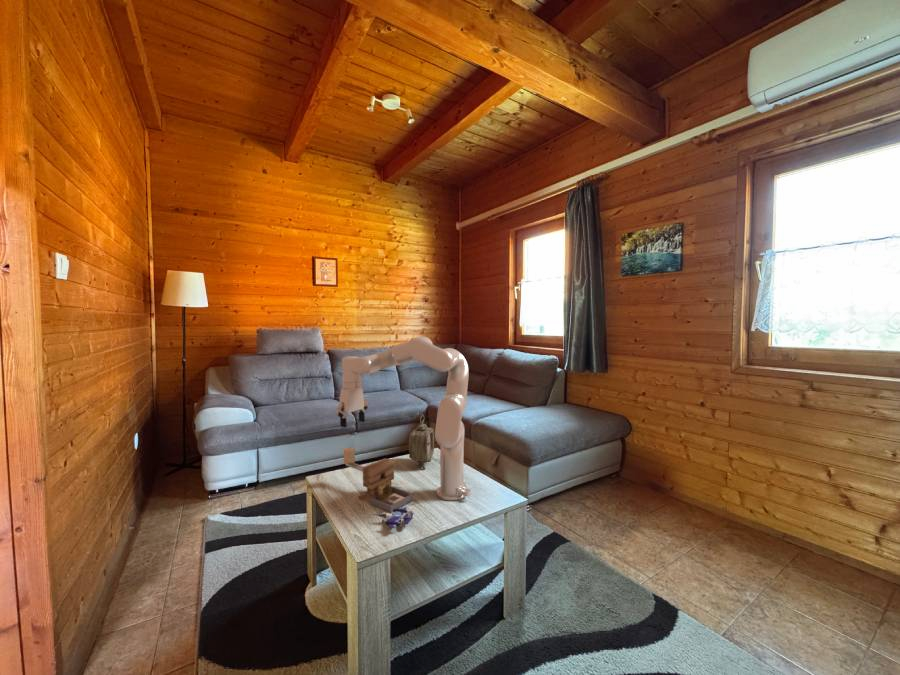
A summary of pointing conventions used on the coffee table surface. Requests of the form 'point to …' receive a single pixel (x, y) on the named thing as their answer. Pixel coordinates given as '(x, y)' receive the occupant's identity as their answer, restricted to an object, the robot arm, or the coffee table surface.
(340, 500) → the coffee table surface
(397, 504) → the tray
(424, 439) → the old lantern
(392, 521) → the toy airplane
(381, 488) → the bar
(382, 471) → the bearing block
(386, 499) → the square wooden ring
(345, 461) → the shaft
